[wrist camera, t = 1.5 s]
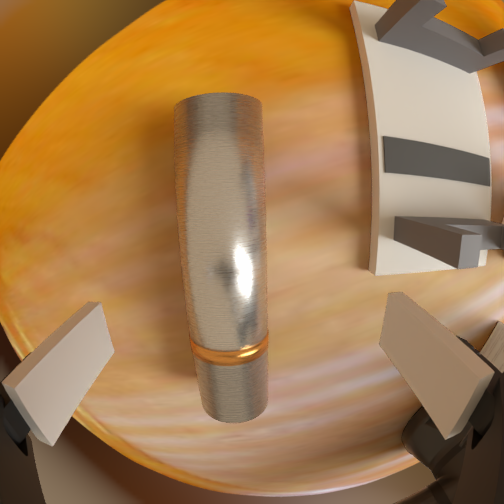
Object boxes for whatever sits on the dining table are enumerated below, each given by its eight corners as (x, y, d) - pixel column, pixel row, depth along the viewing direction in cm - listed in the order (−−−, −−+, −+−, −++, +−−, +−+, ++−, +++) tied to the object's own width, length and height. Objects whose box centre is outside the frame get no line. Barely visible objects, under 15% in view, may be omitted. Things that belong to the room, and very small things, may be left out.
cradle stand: (477, 262, 23) (538, 291, 13) (368, 270, 23) (430, 320, 13) (460, 45, 17) (511, 20, 7) (349, 7, 17) (386, -50, 7)
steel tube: (280, 391, 23) (244, 433, 18) (227, 372, 26) (187, 405, 21) (278, 108, 18) (226, 84, 13) (212, 121, 21) (155, 110, 16)
